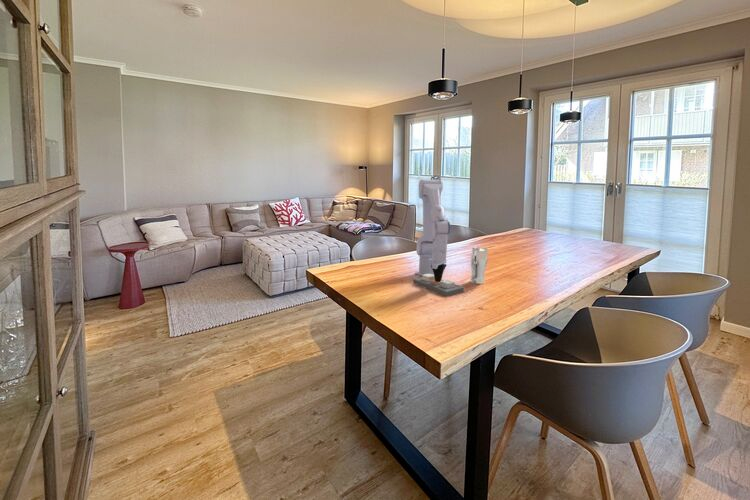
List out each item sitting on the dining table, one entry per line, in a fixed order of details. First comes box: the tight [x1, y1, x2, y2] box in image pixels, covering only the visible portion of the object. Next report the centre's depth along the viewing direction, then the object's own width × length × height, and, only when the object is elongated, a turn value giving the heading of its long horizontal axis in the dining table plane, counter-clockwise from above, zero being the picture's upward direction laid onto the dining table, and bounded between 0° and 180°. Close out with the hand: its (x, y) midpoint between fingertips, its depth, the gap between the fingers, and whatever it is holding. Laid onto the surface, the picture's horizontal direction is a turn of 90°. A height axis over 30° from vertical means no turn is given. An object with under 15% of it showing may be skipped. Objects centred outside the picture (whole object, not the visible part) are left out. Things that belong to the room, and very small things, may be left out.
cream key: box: [421, 274, 435, 282], centre depth 161 cm, size 4×4×2 cm
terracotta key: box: [431, 279, 443, 285], centre depth 157 cm, size 4×4×2 cm
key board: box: [412, 276, 465, 297], centre depth 157 cm, size 10×20×2 cm, turn 35°
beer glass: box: [469, 247, 489, 285], centre depth 164 cm, size 7×7×15 cm
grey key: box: [440, 279, 456, 289], centre depth 152 cm, size 4×4×2 cm
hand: (437, 281), depth 157 cm, fingers closed, pressing on terracotta key
